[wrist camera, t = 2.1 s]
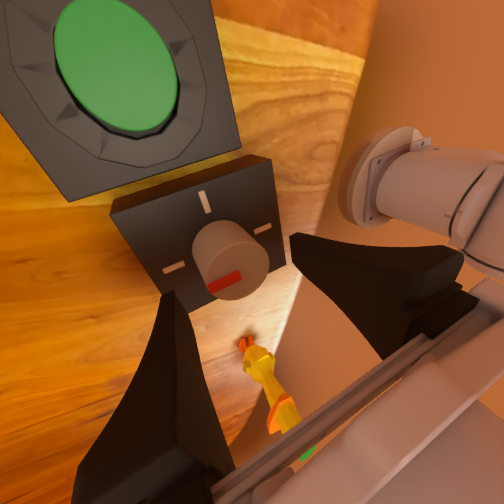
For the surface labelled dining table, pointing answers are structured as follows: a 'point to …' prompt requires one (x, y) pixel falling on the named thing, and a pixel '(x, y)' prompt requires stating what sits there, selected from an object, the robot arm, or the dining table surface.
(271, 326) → the dining table surface
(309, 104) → the dining table surface
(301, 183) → the dining table surface
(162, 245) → the timer panel
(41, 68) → the button block
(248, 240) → the timer knob
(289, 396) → the toy figure
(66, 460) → the dining table surface
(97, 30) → the button
